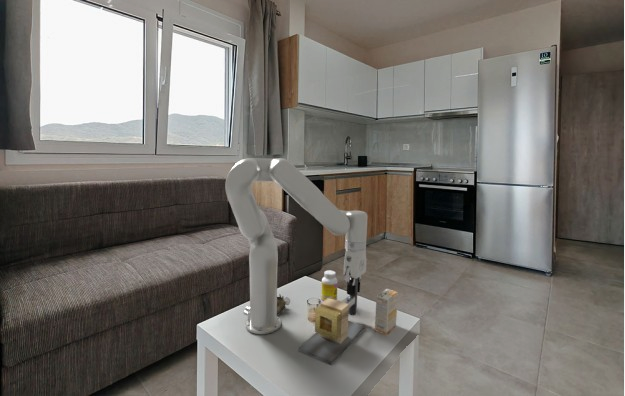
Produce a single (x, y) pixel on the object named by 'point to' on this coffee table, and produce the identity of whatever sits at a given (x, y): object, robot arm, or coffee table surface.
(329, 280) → the supplement bottle
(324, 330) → the yellow square frame
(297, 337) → the coffee table surface
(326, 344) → the block
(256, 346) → the coffee table surface
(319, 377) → the coffee table surface
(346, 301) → the crank handle
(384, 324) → the supplement box
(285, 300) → the eagle figurine
